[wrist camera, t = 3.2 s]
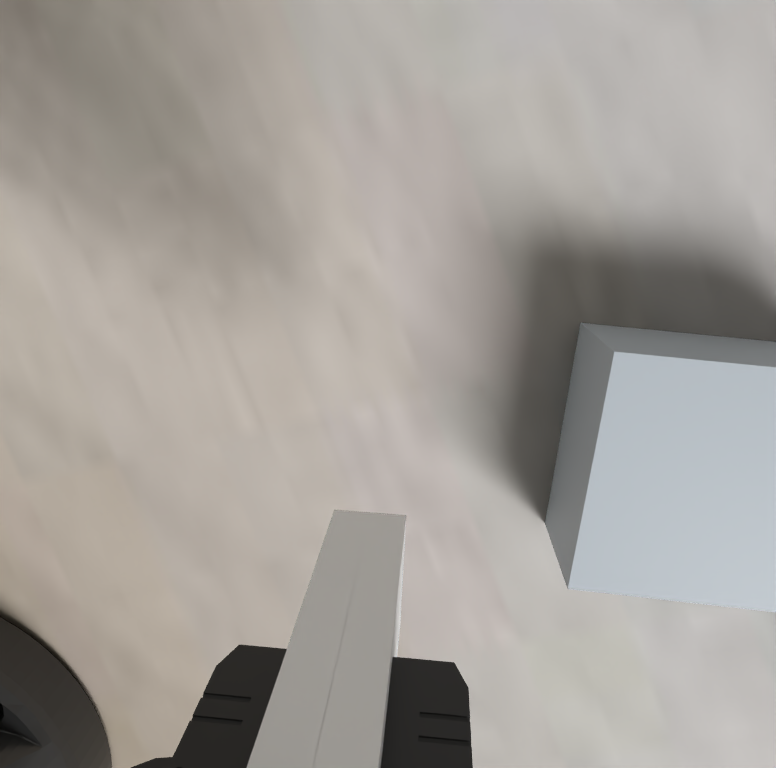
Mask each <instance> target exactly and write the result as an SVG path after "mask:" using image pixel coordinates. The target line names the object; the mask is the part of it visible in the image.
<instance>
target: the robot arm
mask: <svg viewBox="0 0 776 768" xmlns="http://www.w3.org/2000/svg"><path fill="white" fill-rule="evenodd" d="M405 531H406V515H395V514H382V513H370V512H357V511H344V510H334V513H333V516H332V518H331V521H330V524H329V527H328V530H327V533H326V536H325V539H324V542H323V545H322V548H321V551H320V554H319V557H318V560H317V562H316V565H315V568H314V571H313V574H312V577H311V580H310V583H309V586H308V589H307V592H306V595H305V598H304V601H303V604H302V606H301V609H300V612H299V615H298V618H297V621H296V624H295V627H294V630H293V633H292V636H291V639H290V642H289V645H288V647H287V649H281V648H270V647H259V646H248V645H238V646H237V647H236V648H235V649H234V650H233V651H232V652H231V653H230V654H229V655H228V656H227V657H225V658H224V659H223V660H222V661H221V662H220V663H219V664H218V665H217V666H216V668H215V670H214V672H213V674H212V676H211V678H210V680H209V682H208V684H207V686H206V689H205V691H204V694H203V698H201V699H200V701H199V703H198V705H197V707H196V709H195V712H194V714H193V718H192V721H190V722H189V724H188V726H187V728H186V730H185V732H184V735H183V737H182V739H181V741H180V743H179V745H178V747H177V749H176V751H175V753H174V755H173V757H168V758H155V759H152V760H150V761H147V762H144V763H142V764H139V765H136V766H134V767H131V768H473V767H472V748H471V729H470V710H469V691H468V686H467V685H466V683H465V681H464V679H463V678H462V676H461V674H460V672H459V670H458V669H457V667H456V665H455V663H454V662H443V661H432V660H422V659H411V658H400V657H397V653H398V643H399V633H400V619H401V602H402V584H403V566H404V548H405ZM0 768H112V762H111V755H110V749H109V745H108V741H107V737H106V734H105V731H104V728H103V726H102V723H101V721H100V719H99V716H98V714H97V712H96V710H95V709H94V707H93V705H92V703H91V701H90V700H89V698H88V697H87V695H86V693H85V692H84V691H83V689H82V688H81V686H80V685H79V684H78V682H77V681H76V680H75V679H74V677H73V676H72V675H71V674H70V672H69V671H68V670H67V669H66V668H65V667H64V666H63V665H62V664H61V663H60V662H59V661H58V660H57V659H56V658H55V657H54V656H53V655H52V654H51V653H50V652H49V651H48V650H46V649H45V648H44V647H43V646H42V645H41V644H39V643H38V642H37V641H36V640H34V639H33V638H32V637H30V636H29V635H28V634H26V633H25V632H23V631H22V630H20V629H19V628H17V627H16V626H14V625H13V624H11V623H9V622H7V621H6V620H4V619H2V618H1V617H0Z"/></svg>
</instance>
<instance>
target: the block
mask: <svg viewBox="0 0 776 768" xmlns="http://www.w3.org/2000/svg"><path fill="white" fill-rule="evenodd" d="M545 525H546V527H547V530H548V533H549V536H550V539H551V542H552V545H553V548H554V551H555V553H556V556H557V559H558V562H559V565H560V568H561V571H562V574H563V577H564V579H565V582H566V585H567V588H568V589H573V590H582V591H591V592H599V593H608V594H617V595H626V596H635V597H644V598H653V599H662V600H671V601H679V602H688V603H697V604H706V605H715V606H724V607H733V608H742V609H751V610H759V611H768V612H776V342H774V341H763V340H753V339H743V338H732V337H722V336H712V335H702V334H691V333H681V332H671V331H660V330H650V329H640V328H629V327H619V326H609V325H598V324H588V323H580V329H579V335H578V340H577V346H576V351H575V357H574V363H573V368H572V374H571V380H570V385H569V391H568V396H567V402H566V408H565V413H564V419H563V424H562V430H561V436H560V441H559V447H558V453H557V458H556V464H555V469H554V475H553V481H552V486H551V492H550V497H549V503H548V509H547V514H546V520H545Z"/></svg>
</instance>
